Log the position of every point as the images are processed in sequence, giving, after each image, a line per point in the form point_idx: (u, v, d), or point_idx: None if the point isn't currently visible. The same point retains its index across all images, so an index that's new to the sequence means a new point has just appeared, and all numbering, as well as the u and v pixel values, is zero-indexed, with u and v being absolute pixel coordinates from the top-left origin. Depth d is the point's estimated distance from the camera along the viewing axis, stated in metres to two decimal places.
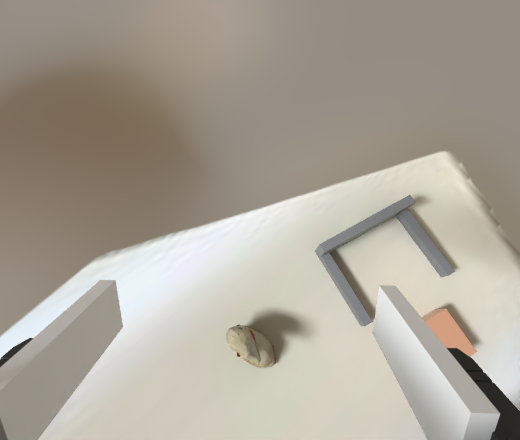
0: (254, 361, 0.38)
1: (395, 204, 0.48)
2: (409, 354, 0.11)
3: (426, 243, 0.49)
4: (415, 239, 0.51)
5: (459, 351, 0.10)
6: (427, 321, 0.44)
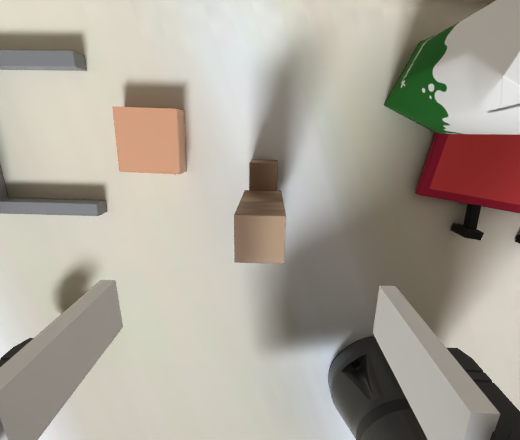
0: None
1: None
2: (409, 353, 0.11)
3: (18, 62, 0.30)
4: (18, 68, 0.32)
5: (459, 351, 0.10)
6: (117, 142, 0.32)
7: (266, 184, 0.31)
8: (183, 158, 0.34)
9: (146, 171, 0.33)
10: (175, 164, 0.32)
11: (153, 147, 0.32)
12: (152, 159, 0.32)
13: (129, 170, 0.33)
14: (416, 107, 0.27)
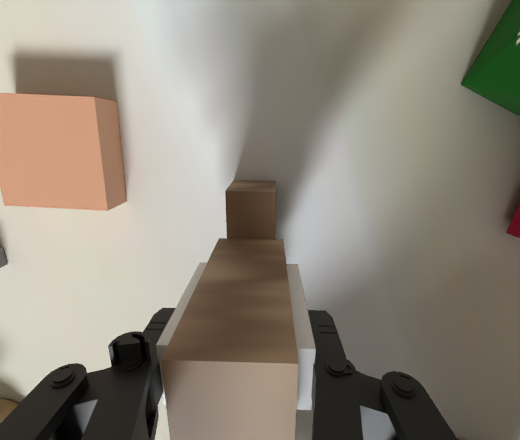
0: None
1: None
2: None
3: None
4: None
5: (325, 313, 0.13)
6: None
7: (256, 228, 0.18)
8: (116, 182, 0.20)
9: (50, 205, 0.19)
10: (99, 193, 0.19)
11: (57, 165, 0.18)
12: (58, 184, 0.19)
13: (21, 203, 0.19)
14: None
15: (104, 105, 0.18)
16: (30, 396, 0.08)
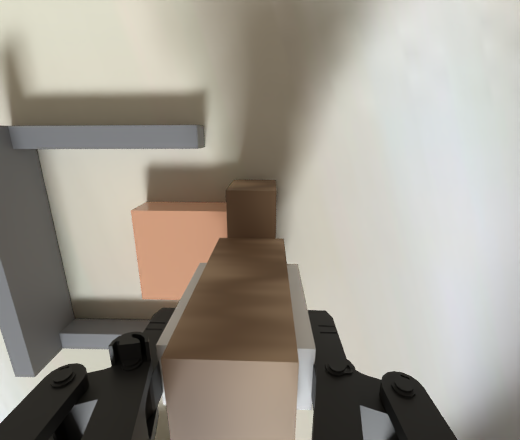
0: None
1: None
2: None
3: (108, 143, 0.19)
4: None
5: (325, 313, 0.13)
6: (139, 259, 0.21)
7: (257, 228, 0.18)
8: None
9: None
10: None
11: (193, 266, 0.21)
12: None
13: (157, 297, 0.22)
14: None
15: None
16: (31, 395, 0.08)
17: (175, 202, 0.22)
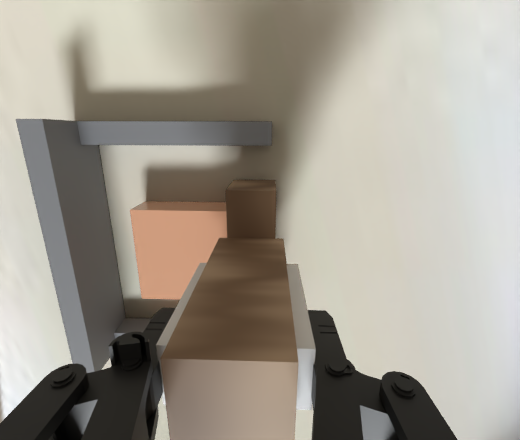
0: None
1: (33, 176, 0.17)
2: None
3: (179, 139, 0.19)
4: None
5: (325, 313, 0.13)
6: (138, 259, 0.21)
7: (257, 228, 0.18)
8: None
9: None
10: None
11: (192, 266, 0.21)
12: None
13: (156, 296, 0.22)
14: None
15: None
16: (31, 395, 0.08)
17: None
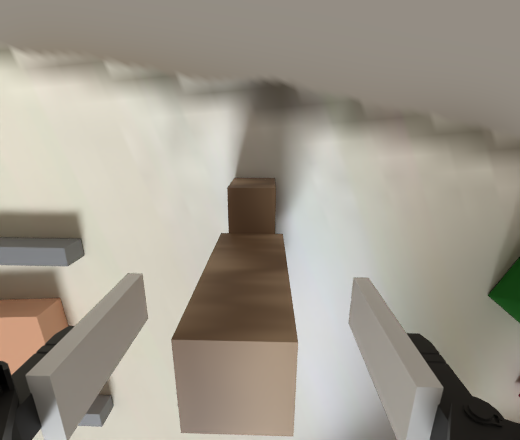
0: None
1: None
2: (374, 339, 0.11)
3: None
4: None
5: (420, 336, 0.11)
6: None
7: (257, 224, 0.18)
8: None
9: None
10: None
11: (17, 360, 0.24)
12: None
13: None
14: None
15: (47, 313, 0.24)
16: None
17: (8, 300, 0.25)
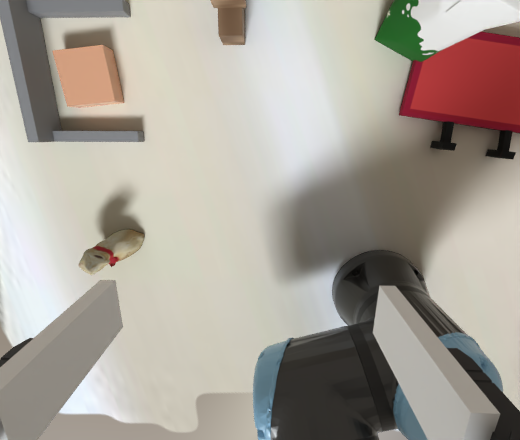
0: (102, 265, 0.41)
1: (2, 18, 0.35)
2: (409, 353, 0.11)
3: (77, 8, 0.37)
4: (74, 15, 0.39)
5: (459, 351, 0.10)
6: (61, 81, 0.40)
7: None
8: (117, 90, 0.41)
9: (88, 102, 0.40)
10: (110, 92, 0.40)
11: (89, 81, 0.39)
12: (91, 91, 0.40)
13: (75, 104, 0.40)
14: (398, 31, 0.34)
15: (107, 50, 0.39)
16: None
17: None
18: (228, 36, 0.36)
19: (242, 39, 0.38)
